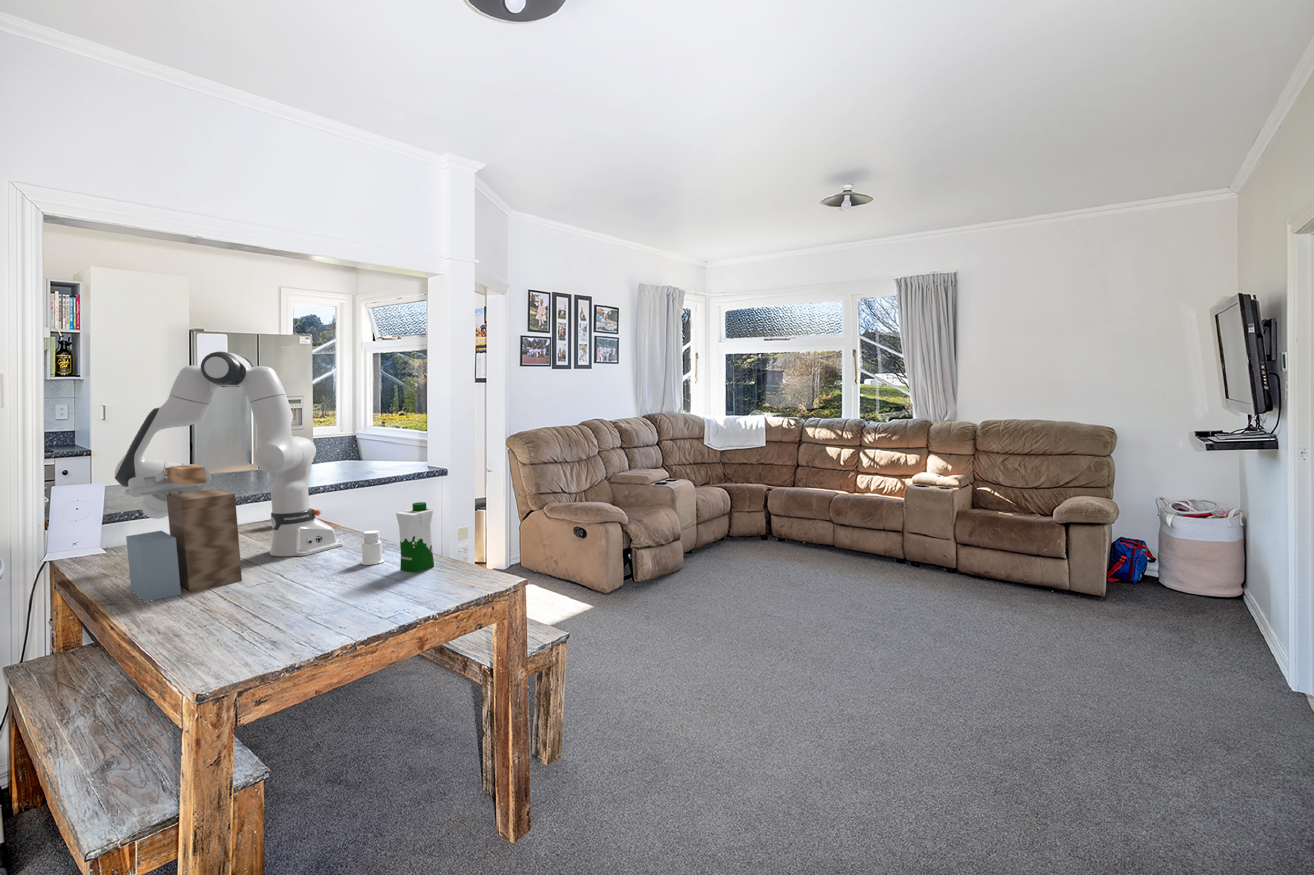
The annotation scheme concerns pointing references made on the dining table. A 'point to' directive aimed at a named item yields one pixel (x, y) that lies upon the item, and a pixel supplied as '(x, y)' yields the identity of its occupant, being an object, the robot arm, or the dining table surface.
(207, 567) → the tall stand
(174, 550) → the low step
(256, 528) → the dining table surface
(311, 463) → the robot arm
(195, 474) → the brown wooden block
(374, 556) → the white pill bottle
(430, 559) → the milk carton
